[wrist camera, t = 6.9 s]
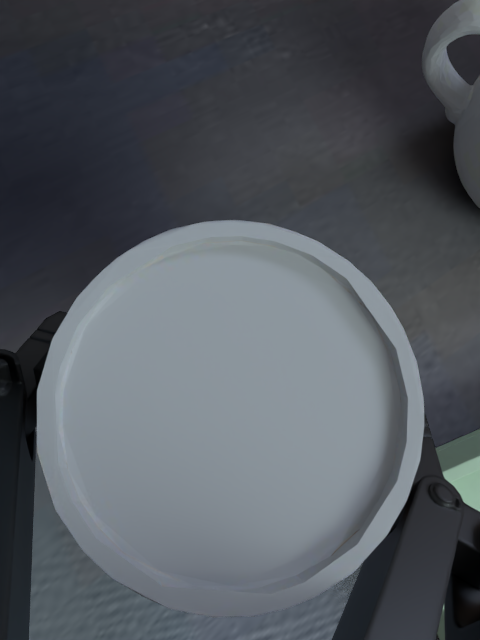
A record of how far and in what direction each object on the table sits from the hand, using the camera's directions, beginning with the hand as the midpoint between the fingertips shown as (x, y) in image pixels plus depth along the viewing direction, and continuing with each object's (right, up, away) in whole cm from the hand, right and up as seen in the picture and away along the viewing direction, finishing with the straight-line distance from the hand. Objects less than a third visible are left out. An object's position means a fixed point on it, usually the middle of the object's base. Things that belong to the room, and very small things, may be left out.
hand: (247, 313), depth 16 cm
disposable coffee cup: (-1, -3, +4) cm, 5 cm away
